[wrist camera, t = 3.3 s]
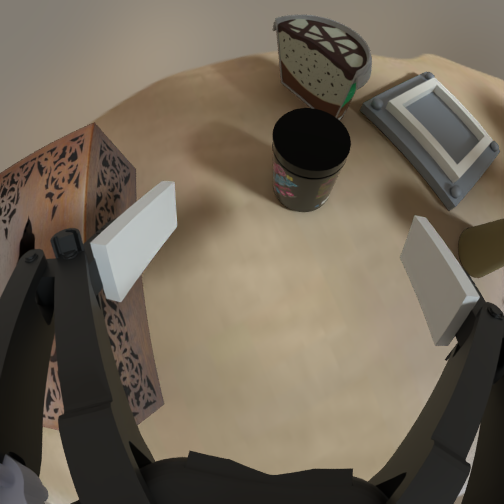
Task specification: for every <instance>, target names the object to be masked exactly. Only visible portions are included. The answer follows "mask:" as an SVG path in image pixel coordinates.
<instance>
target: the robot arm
mask: <svg viewBox="0 0 504 504" xmlns="http://www.w3.org/2000/svg"><path fill="white" fill-rule="evenodd" d="M176 227H177V215H176V199H175V182H171V181H161V182H160V183H159V184H158V185H156V186H155V187H154V188H152V189H151V190H150V191H149V192H148V193H146V194H145V195H144V196H143V197H141V198H140V199H139V200H138V201H137V202H135V203H134V204H133V205H132V206H131V207H129V208H128V209H127V210H126V211H125V212H124V213H123V214H121V215H120V216H119V217H118V218H115V219H113V220H111V221H109V222H107V223H106V224H105V225H104V226H103V227H101V229H99V230H98V231H97V232H96V234H94V235H93V236H91V237H90V238H89V239H88V240H87V241H86V242H85V243H84V244H83V242H82V238H81V234H80V231H79V230H78V229H76V228H68V229H64V230H61V231H59V232H57V233H56V234H55V235H54V236H53V237H52V238H51V240H50V242H51V245H52V248H53V251H54V254H55V257H56V258H52V259H46V257H45V254H44V252H43V250H41V249H34V250H29V251H27V252H26V253H25V254H24V255H23V256H22V257H21V258H20V260H19V261H18V263H17V265H16V267H15V269H14V271H13V273H12V275H11V277H10V279H9V281H8V283H7V285H6V287H5V289H4V291H3V293H2V295H1V297H0V504H45V503H44V501H46V500H47V499H48V491H47V489H46V488H45V487H44V486H43V485H42V482H41V480H40V479H39V474H40V467H41V460H42V429H43V412H44V400H45V390H46V382H47V375H48V368H49V362H50V356H51V350H52V345H53V340H54V335H55V342H56V355H57V365H58V374H59V381H60V388H61V395H62V401H63V406H64V414H62V415H60V416H59V418H58V426H59V432H60V436H61V441H62V445H63V449H64V453H65V457H66V460H67V464H68V467H69V470H70V474H71V477H72V480H73V483H74V486H75V489H76V492H77V494H78V497H79V500H78V501H76V502H73V503H71V504H454V502H455V500H456V498H457V496H458V495H459V493H460V491H461V489H462V487H463V485H464V483H465V481H466V479H467V477H468V475H469V472H470V469H471V466H470V464H469V463H468V462H466V457H467V454H468V452H469V450H470V448H471V445H472V443H473V441H474V438H475V436H476V433H477V430H478V428H479V425H480V430H479V436H478V442H477V447H476V452H475V457H474V461H473V465H472V469H471V473H470V477H469V481H468V484H467V487H466V491H465V494H464V497H463V500H462V503H461V504H504V315H503V312H502V311H501V310H500V309H499V308H498V307H497V306H496V305H494V304H492V303H489V302H485V300H484V298H483V297H482V295H481V293H480V292H479V290H478V288H477V287H476V286H475V283H474V282H473V280H472V279H471V277H470V275H469V274H468V272H467V271H466V270H465V269H464V268H463V267H462V266H461V265H460V264H459V263H458V261H457V260H456V258H455V257H454V255H453V254H452V252H451V251H450V249H449V248H448V247H447V245H446V244H445V242H444V241H443V240H442V238H441V237H440V236H439V234H438V233H437V231H436V230H435V229H434V228H433V226H432V225H431V224H430V222H429V221H428V220H427V218H425V217H421V216H416V215H414V218H413V221H412V224H411V227H410V230H409V233H408V236H407V239H406V242H405V245H404V247H403V250H402V253H401V255H400V259H401V261H402V263H403V265H404V267H405V270H406V272H407V274H408V276H409V279H410V281H411V283H412V286H413V288H414V291H415V293H416V295H417V298H418V300H419V303H420V305H421V308H422V311H423V313H424V316H425V319H426V321H427V324H428V327H429V330H430V332H431V335H432V338H433V341H434V344H435V346H448V345H449V344H450V342H451V341H452V340H453V338H454V337H455V336H456V339H457V341H458V343H457V344H456V346H455V347H454V348H453V350H452V351H451V352H450V353H449V355H448V356H447V357H446V359H445V360H446V361H447V360H448V359H449V360H448V362H447V364H446V366H445V368H444V370H443V372H442V375H441V377H440V379H439V381H438V383H437V385H436V386H435V388H434V390H433V392H432V394H431V396H430V398H429V399H428V401H427V403H426V405H425V407H424V408H423V410H422V412H421V413H420V415H419V417H418V418H417V420H416V422H415V423H414V425H413V426H412V428H411V430H410V431H409V433H408V434H407V436H406V437H405V439H404V440H403V442H402V443H401V445H400V446H399V447H398V449H397V450H396V452H395V453H394V454H393V456H392V457H391V458H390V460H389V461H388V462H387V464H386V465H385V466H384V467H383V468H382V469H381V470H380V471H379V472H378V473H377V474H376V475H375V476H373V477H372V478H371V479H370V480H369V481H368V482H367V481H365V480H363V479H360V478H357V477H354V476H353V469H311V470H305V471H300V472H294V473H287V474H280V475H269V474H265V473H263V472H260V471H257V470H255V469H252V468H249V467H247V466H244V465H242V464H239V463H237V462H235V461H232V460H230V459H224V458H219V457H215V456H210V455H206V454H201V453H197V452H193V451H190V452H189V455H188V457H178V458H169V459H163V460H160V461H156V462H155V460H154V458H153V456H152V454H151V452H150V450H149V449H148V447H147V445H146V444H145V442H144V440H143V438H142V436H141V434H140V431H139V429H138V426H137V424H136V421H135V419H134V416H133V414H132V411H131V408H130V405H129V403H128V400H127V397H126V394H125V391H124V388H123V385H122V382H121V379H120V376H119V372H118V369H117V366H116V362H115V359H114V355H113V352H112V348H111V344H110V340H109V336H108V332H107V328H106V324H105V319H104V315H103V310H102V305H101V300H100V297H99V292H100V291H101V290H102V289H104V292H105V295H106V298H107V299H110V300H114V301H118V302H122V300H123V299H124V297H125V296H126V295H127V293H128V292H129V290H130V289H131V287H132V286H133V285H134V283H135V282H136V280H137V279H138V278H139V276H140V275H141V273H142V272H143V271H144V269H145V268H146V267H147V265H148V264H149V263H150V261H151V260H152V259H153V257H154V256H155V255H156V253H157V252H158V251H159V249H160V248H161V247H162V245H163V244H164V243H165V241H166V240H167V239H168V238H169V236H170V235H171V234H172V232H173V231H174V230H175V229H176ZM480 422H481V423H480Z"/></svg>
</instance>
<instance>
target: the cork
mask: <svg viewBox="0 0 504 504" xmlns="http://www.w3.org/2000/svg"><path fill="white" fill-rule="evenodd" d="M458 252H459V257H460V261H461V264H462V266H463V268H464V269H465V270H466V271H467V272H468V274H469V275H470V276H472V277H474V278H480V277H483V276H485V275H487V274H489V273H491V272H493V271H495V270H497V269H499V268H501V267H503V266H504V219H500V220H497V221H493V222H489V223H486V224H482V225H478V226H474V227H471V228H467V229H466V230H464V231H463V232H462V234H461V236H460V239H459V244H458Z"/></svg>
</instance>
